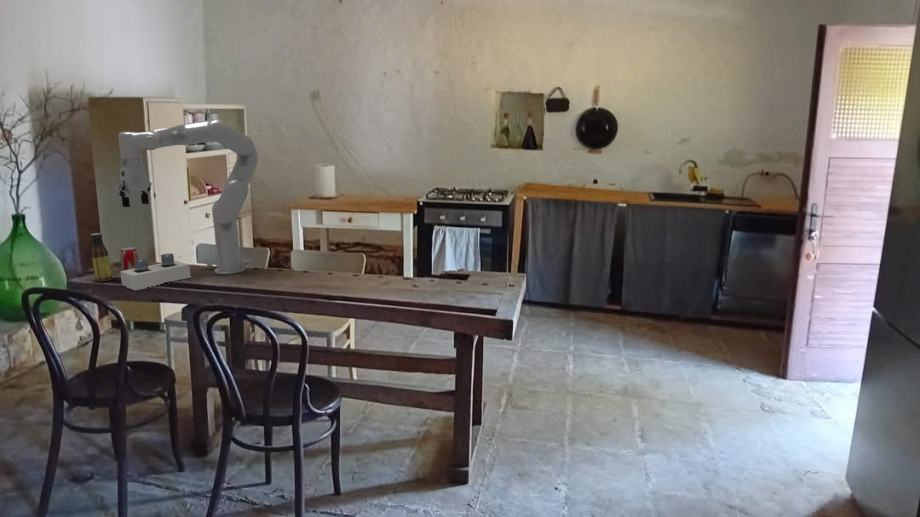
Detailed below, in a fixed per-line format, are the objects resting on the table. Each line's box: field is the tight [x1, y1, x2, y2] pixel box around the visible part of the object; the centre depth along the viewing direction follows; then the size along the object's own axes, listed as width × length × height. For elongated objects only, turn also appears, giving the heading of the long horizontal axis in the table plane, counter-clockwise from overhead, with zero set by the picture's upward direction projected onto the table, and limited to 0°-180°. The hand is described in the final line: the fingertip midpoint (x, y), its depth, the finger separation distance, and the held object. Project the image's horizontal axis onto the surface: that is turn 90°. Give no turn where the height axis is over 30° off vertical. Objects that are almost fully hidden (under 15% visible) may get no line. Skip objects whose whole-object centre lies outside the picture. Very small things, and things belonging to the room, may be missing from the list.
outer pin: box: [134, 257, 149, 273], centre depth 269 cm, size 5×5×6 cm
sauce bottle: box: [90, 232, 113, 283], centre depth 276 cm, size 6×6×20 cm
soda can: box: [119, 246, 140, 271], centre depth 285 cm, size 7×7×12 cm
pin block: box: [120, 260, 192, 292], centre depth 274 cm, size 23×12×6 cm, turn 139°
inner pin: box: [160, 253, 175, 268], centre depth 277 cm, size 5×5×6 cm
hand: (135, 205), depth 271 cm, fingers open, 9 cm apart
